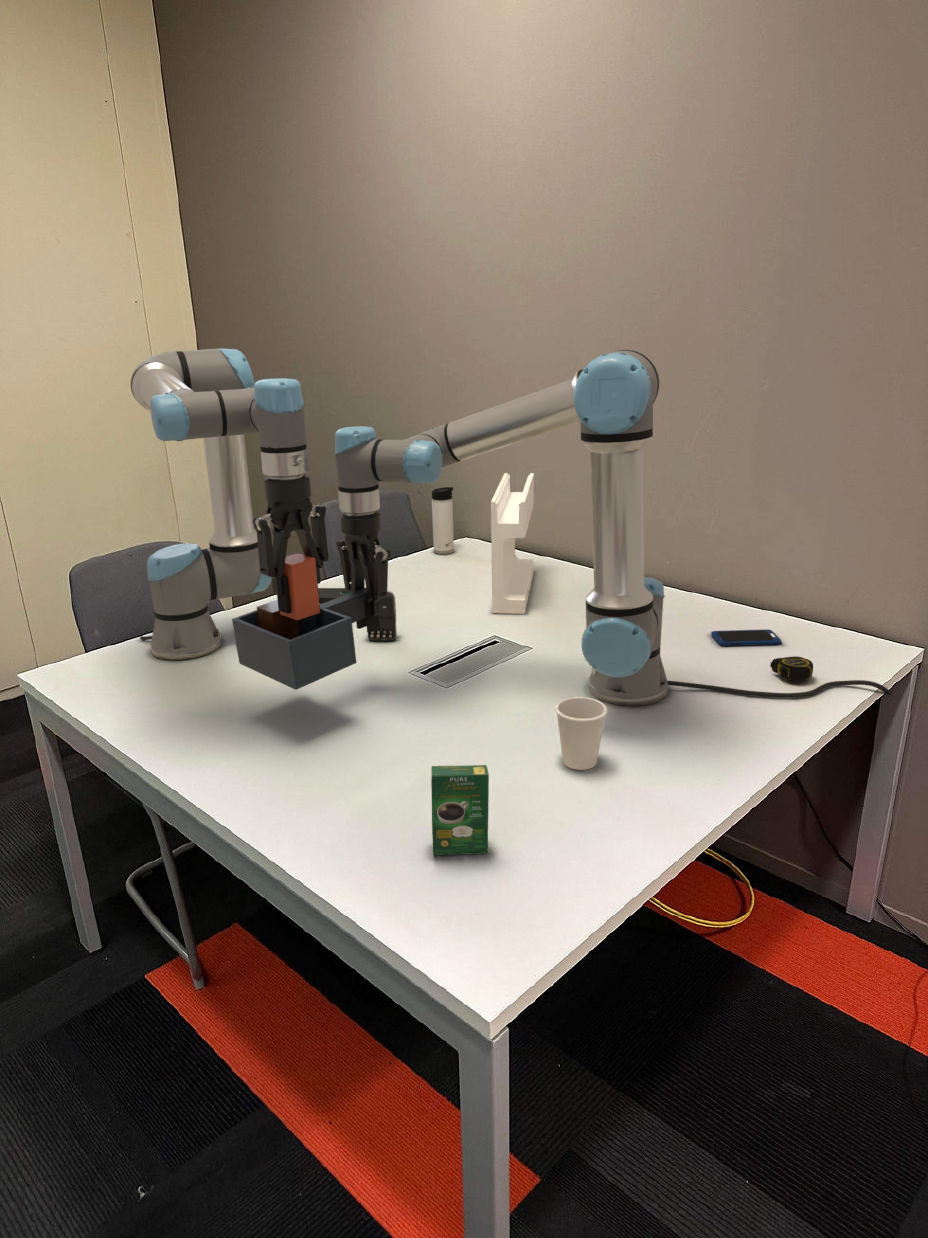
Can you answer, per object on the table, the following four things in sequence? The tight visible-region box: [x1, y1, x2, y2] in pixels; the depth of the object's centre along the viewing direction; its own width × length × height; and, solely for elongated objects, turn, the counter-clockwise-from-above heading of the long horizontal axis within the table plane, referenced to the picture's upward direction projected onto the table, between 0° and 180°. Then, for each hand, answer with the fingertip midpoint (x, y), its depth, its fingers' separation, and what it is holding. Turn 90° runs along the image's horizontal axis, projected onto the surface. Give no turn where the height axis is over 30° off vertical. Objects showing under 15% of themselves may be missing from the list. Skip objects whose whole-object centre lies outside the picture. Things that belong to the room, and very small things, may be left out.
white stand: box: [490, 472, 535, 615], centre depth 222 cm, size 35×8×28 cm, turn 172°
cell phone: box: [710, 629, 782, 647], centre depth 191 cm, size 7×14×1 cm, turn 91°
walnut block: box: [256, 599, 299, 640], centre depth 157 cm, size 5×5×10 cm
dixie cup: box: [555, 696, 608, 771], centre depth 141 cm, size 8×8×10 cm
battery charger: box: [367, 590, 398, 642], centre depth 195 cm, size 7×4×11 cm, turn 86°
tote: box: [231, 587, 383, 691], centre depth 160 cm, size 27×18×9 cm, turn 137°
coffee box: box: [430, 764, 490, 856], centre depth 119 cm, size 8×3×13 cm, turn 92°
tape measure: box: [769, 655, 814, 682], centre depth 171 cm, size 7×7×4 cm
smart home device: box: [318, 587, 351, 604], centre depth 224 cm, size 8×2×20 cm
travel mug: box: [431, 486, 455, 555], centre depth 260 cm, size 6×7×20 cm
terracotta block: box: [280, 553, 320, 620], centre depth 149 cm, size 5×5×10 cm
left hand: (299, 606), depth 150 cm, fingers open, 5 cm apart
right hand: (368, 628), depth 168 cm, fingers closed on tote, 2 cm apart
